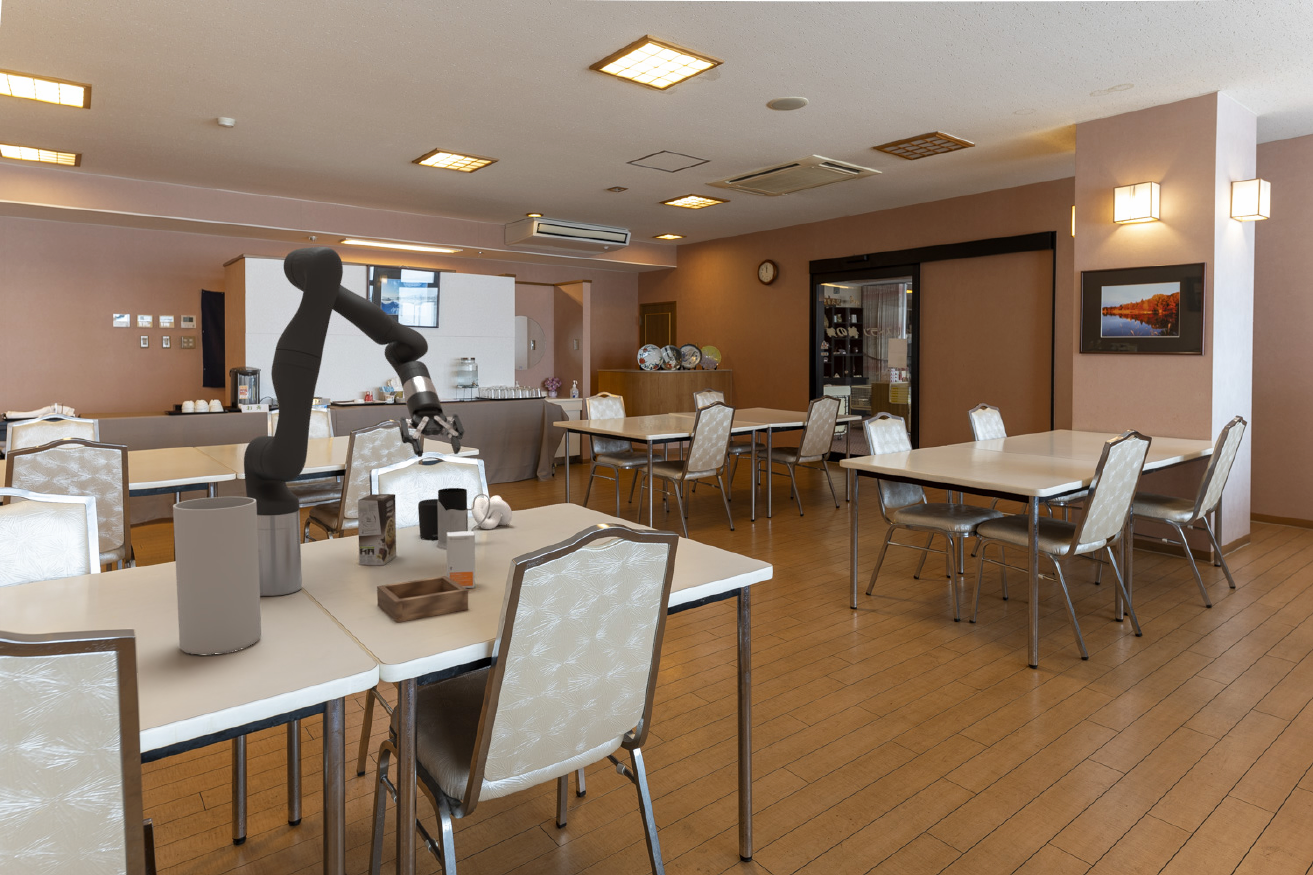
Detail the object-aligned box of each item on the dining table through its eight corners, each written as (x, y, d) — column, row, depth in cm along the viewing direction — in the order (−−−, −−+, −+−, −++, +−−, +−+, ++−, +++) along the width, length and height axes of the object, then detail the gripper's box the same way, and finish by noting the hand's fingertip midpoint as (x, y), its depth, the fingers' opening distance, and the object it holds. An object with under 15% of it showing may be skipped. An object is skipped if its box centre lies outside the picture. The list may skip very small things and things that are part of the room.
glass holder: (435, 542, 215) (435, 488, 214) (488, 539, 219) (488, 486, 218) (436, 549, 207) (436, 493, 205) (491, 546, 211) (491, 491, 210)
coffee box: (384, 565, 191) (383, 499, 189) (358, 565, 191) (356, 499, 189) (397, 556, 200) (396, 493, 198) (372, 555, 200) (371, 493, 198)
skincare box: (447, 589, 172) (446, 536, 170) (446, 584, 176) (446, 531, 174) (475, 588, 173) (475, 534, 172) (474, 582, 177) (474, 530, 176)
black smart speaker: (412, 539, 219) (411, 503, 218) (429, 532, 228) (429, 498, 227) (442, 541, 216) (442, 505, 215) (459, 534, 225) (458, 499, 224)
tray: (396, 622, 150) (395, 601, 150) (377, 605, 160) (377, 586, 160) (468, 609, 158) (468, 590, 158) (446, 593, 169) (446, 575, 168)
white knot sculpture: (517, 523, 241) (517, 494, 240) (505, 532, 229) (505, 501, 229) (482, 522, 243) (482, 493, 242) (468, 530, 231) (467, 500, 230)
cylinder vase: (273, 631, 144) (269, 496, 142) (240, 657, 132) (234, 510, 130) (204, 631, 144) (198, 496, 142) (164, 657, 132) (156, 509, 129)
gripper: (394, 390, 183) (411, 445, 175) (454, 388, 191) (472, 441, 183) (389, 411, 188) (405, 465, 180) (447, 408, 196) (465, 460, 188)
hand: (439, 453), depth 182 cm, fingers open, 8 cm apart
